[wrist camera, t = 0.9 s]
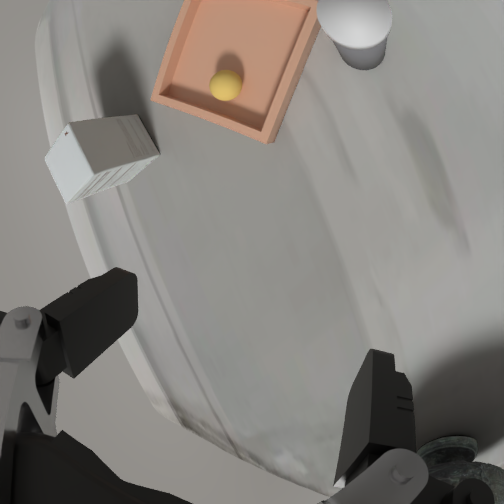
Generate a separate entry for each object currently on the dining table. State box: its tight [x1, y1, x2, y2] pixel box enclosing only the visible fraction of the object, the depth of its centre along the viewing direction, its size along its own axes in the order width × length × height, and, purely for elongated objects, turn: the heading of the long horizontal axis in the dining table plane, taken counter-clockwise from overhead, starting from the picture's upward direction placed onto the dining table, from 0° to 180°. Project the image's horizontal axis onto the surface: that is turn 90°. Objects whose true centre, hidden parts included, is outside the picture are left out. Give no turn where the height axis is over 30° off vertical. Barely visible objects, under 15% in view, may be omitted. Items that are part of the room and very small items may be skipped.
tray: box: [151, 0, 321, 144], centre depth 31 cm, size 17×16×3 cm
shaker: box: [317, 0, 392, 70], centre depth 22 cm, size 5×5×12 cm
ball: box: [209, 70, 242, 101], centre depth 32 cm, size 4×4×4 cm
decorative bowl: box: [416, 436, 504, 504], centre depth 35 cm, size 26×26×20 cm
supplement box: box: [45, 114, 160, 205], centre depth 37 cm, size 7×7×13 cm
